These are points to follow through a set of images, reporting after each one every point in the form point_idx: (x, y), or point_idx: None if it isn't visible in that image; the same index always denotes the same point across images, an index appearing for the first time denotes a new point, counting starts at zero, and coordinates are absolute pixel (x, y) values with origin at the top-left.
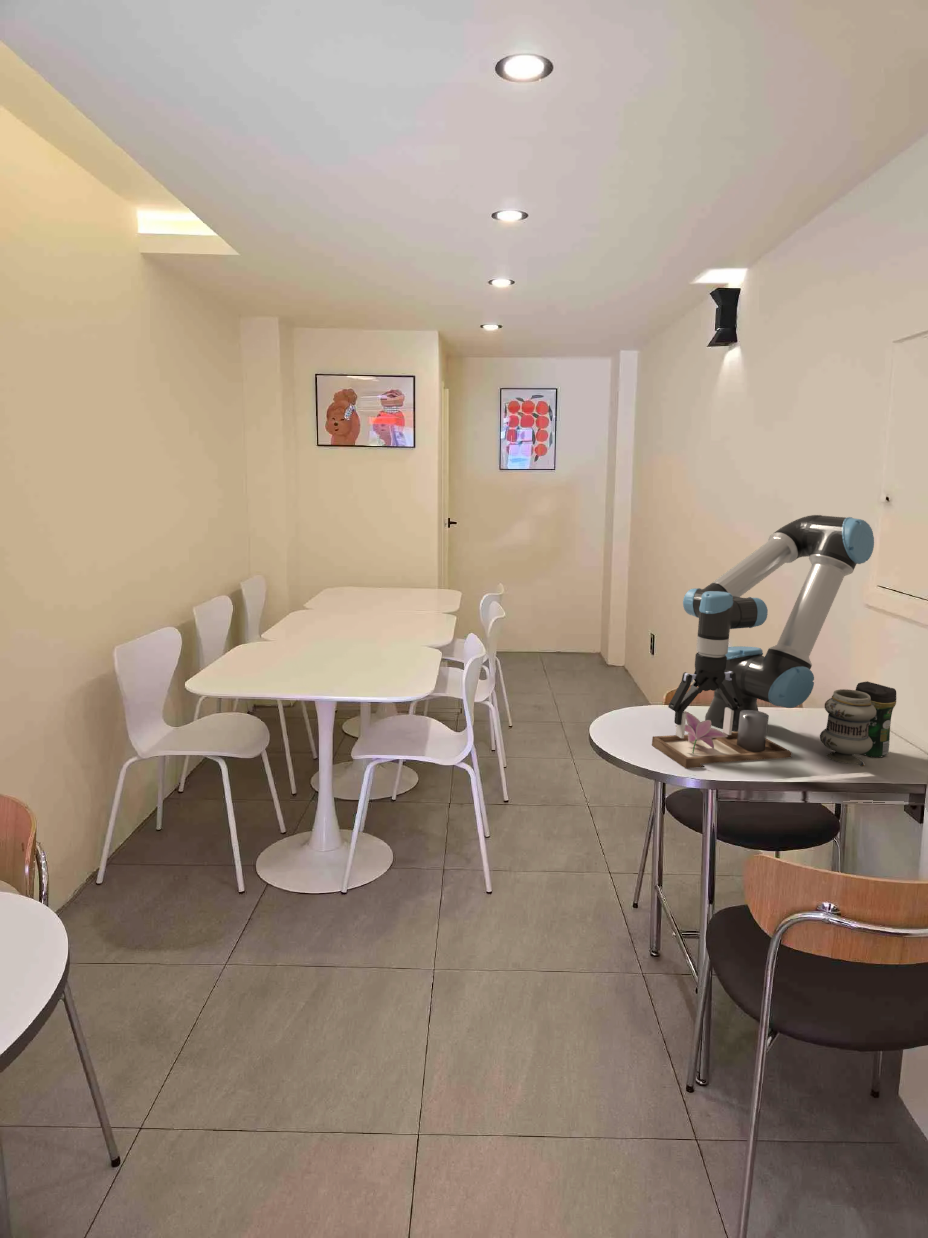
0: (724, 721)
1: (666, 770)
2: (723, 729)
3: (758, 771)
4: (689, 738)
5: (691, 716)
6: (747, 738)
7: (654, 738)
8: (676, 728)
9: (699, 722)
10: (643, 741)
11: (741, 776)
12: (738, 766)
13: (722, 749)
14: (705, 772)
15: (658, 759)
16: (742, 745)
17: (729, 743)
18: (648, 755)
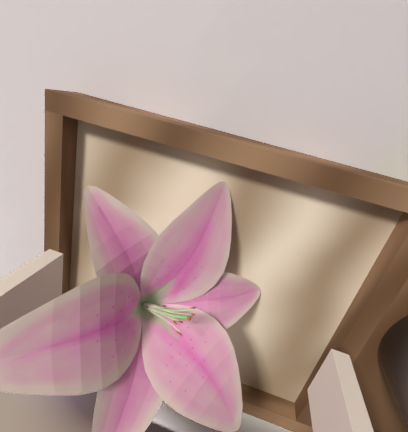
0: (344, 424)
1: None
2: (332, 367)
3: (256, 429)
4: (209, 197)
5: (37, 370)
6: (404, 421)
7: (47, 111)
8: (19, 268)
9: (105, 378)
10: (68, 23)
11: (178, 415)
12: None
13: (285, 316)
14: None
15: (27, 224)
16: (385, 365)
17: (350, 326)
18: (11, 180)
